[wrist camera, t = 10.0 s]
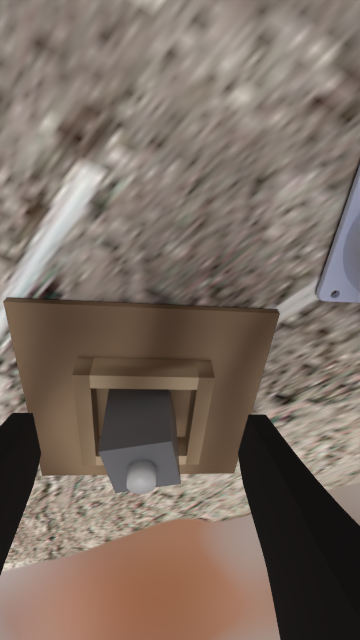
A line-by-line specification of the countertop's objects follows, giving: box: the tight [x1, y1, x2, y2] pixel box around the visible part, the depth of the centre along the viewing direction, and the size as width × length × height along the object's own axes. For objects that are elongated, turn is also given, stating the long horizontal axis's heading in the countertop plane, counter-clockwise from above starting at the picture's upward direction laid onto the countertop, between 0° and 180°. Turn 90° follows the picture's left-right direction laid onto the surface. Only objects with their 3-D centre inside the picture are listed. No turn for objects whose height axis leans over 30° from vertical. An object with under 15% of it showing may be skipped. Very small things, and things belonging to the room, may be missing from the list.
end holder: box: [3, 298, 280, 476], centre depth 22 cm, size 16×16×2 cm
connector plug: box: [98, 389, 181, 494], centre depth 20 cm, size 4×4×6 cm
